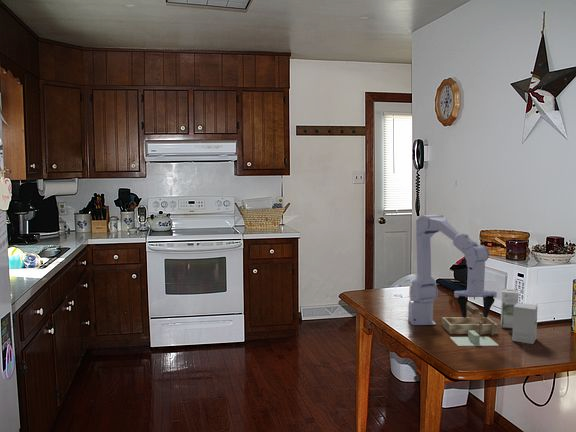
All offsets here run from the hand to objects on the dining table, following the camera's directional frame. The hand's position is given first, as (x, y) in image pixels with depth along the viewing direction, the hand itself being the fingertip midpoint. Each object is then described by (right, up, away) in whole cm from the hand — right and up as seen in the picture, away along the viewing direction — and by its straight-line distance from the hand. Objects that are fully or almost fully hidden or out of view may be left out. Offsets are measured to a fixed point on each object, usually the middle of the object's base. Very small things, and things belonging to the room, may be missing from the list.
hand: (474, 317), depth 191 cm
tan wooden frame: (+3, -8, +15) cm, 17 cm away
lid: (0, -10, +1) cm, 10 cm away
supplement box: (+19, -9, +3) cm, 21 cm away
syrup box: (+20, -8, +19) cm, 28 cm away
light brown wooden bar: (+7, -2, +26) cm, 27 cm away
